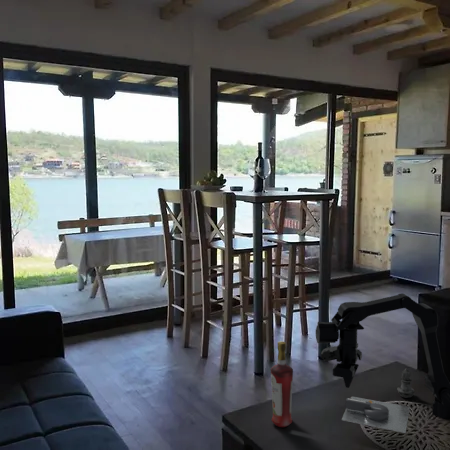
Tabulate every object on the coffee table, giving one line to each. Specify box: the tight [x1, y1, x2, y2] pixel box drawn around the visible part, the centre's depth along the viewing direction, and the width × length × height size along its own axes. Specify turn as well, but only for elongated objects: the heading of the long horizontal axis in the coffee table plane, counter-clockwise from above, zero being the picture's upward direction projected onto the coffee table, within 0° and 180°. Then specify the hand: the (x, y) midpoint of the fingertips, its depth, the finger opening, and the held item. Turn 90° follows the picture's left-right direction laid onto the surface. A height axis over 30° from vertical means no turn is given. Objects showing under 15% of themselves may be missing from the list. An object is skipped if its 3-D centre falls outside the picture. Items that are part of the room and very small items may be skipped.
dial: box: [345, 397, 389, 421], centre depth 163 cm, size 14×8×4 cm, turn 65°
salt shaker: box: [397, 367, 415, 399], centre depth 174 cm, size 6×6×12 cm
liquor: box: [270, 340, 294, 428], centre depth 158 cm, size 7×7×28 cm
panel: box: [341, 396, 411, 434], centre depth 163 cm, size 20×18×1 cm
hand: (347, 387), depth 159 cm, fingers closed
